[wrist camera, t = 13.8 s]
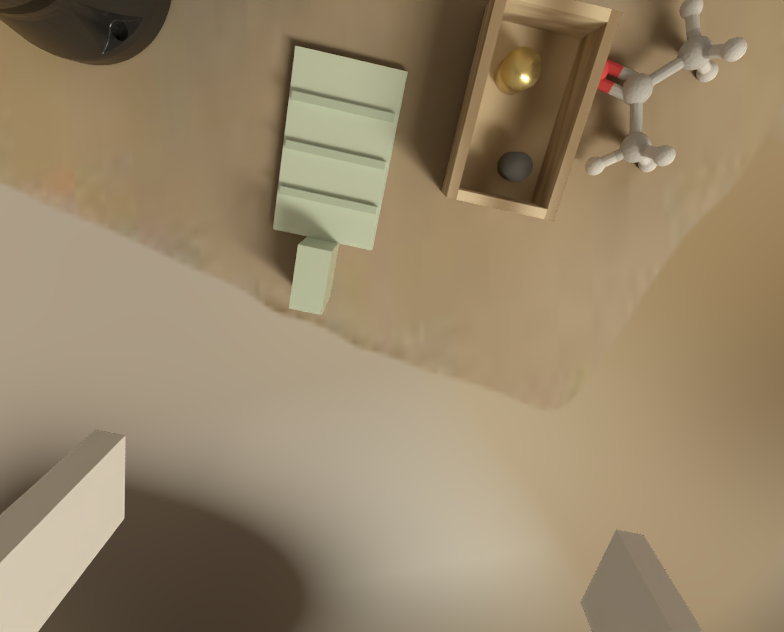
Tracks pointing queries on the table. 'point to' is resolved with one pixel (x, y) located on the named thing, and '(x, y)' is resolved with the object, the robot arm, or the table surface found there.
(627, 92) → the molecular model
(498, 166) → the rubber stopper
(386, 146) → the ridged block with tab
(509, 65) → the brass weight
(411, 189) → the table surface
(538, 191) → the tub
